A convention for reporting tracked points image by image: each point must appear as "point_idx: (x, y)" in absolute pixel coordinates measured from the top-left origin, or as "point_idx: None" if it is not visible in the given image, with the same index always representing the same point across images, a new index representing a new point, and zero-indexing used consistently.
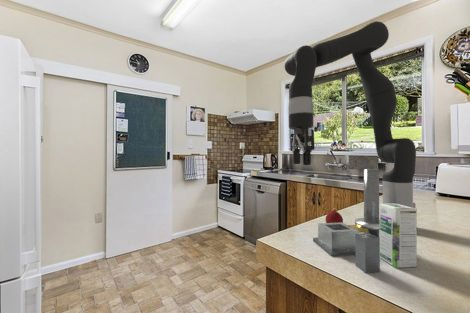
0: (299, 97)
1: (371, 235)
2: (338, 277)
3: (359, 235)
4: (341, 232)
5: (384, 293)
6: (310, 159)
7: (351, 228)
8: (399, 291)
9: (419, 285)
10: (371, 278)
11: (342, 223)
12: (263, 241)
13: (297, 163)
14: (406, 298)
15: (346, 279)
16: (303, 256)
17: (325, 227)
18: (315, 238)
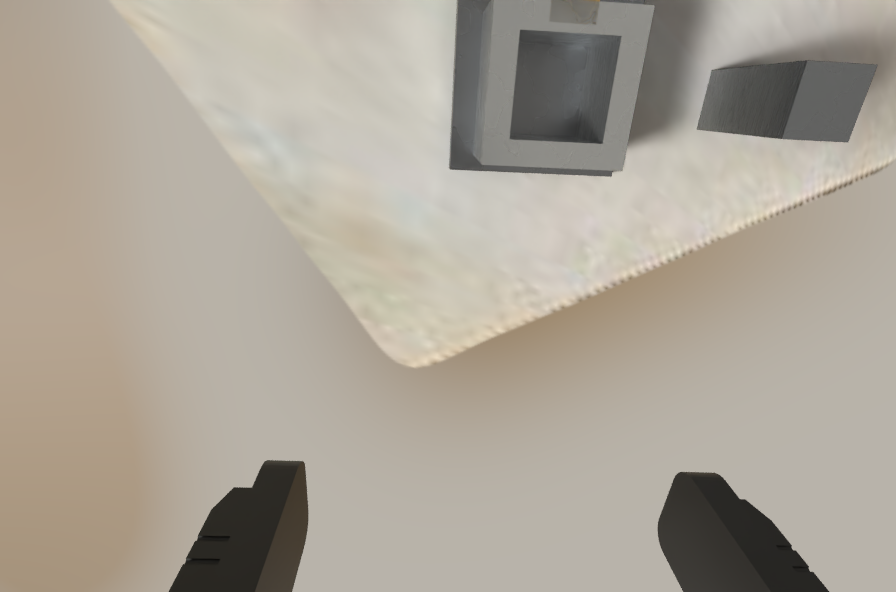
0: None
1: (837, 77)
2: (729, 234)
3: (808, 137)
4: (631, 115)
5: (843, 159)
6: (760, 533)
7: (610, 19)
8: None
9: (878, 3)
10: None
11: (515, 8)
12: (418, 363)
13: (304, 494)
14: (887, 115)
15: (747, 218)
16: (576, 273)
17: (553, 162)
18: (459, 161)
